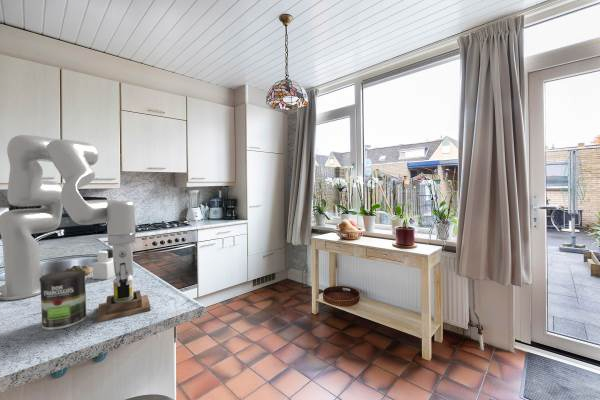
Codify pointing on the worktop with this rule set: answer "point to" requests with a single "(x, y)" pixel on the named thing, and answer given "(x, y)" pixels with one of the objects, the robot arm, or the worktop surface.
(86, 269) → the bread roll
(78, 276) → the coffee can
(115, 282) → the supplement bottle
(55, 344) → the worktop surface
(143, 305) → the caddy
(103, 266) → the medicine bottle
